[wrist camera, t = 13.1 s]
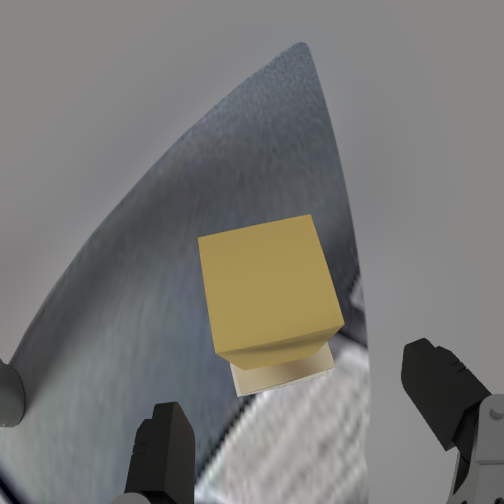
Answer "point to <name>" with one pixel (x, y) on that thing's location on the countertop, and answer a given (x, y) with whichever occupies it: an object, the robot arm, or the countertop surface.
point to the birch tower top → (284, 371)
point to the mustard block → (269, 293)
